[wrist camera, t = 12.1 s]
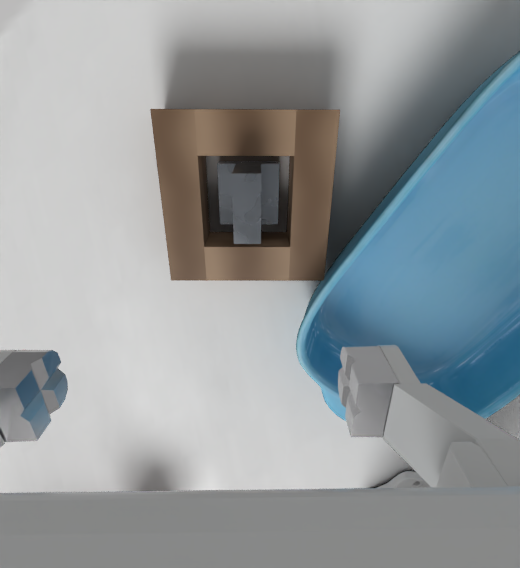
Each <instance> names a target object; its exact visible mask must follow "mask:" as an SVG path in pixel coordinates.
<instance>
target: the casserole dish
mask: <svg viewBox="0 0 520 568" xmlns="http://www.w3.org/2000/svg"><path fill="white" fill-rule="evenodd" d="M378 345H396V346H398V347H399V349H400V350H401V352H402V354H403V355H404V357H405V359H406V360H407V362H408V363H409V365H410V367H411V368H412V370H413V371H414V373H415V375H416V376H417V378H418V380H419V381H420V383H426V384H428V385H430V386H431V387H433V388H435V389H436V390H438V391H440V392H441V393H443V394H445V395H446V396H448V397H450V398H451V399H453V400H454V401H456V402H458V403H459V404H461V405H463V406H464V407H466V408H468V409H469V410H471V411H473V412H474V413H476V414H478V415H479V416H481V417H483V418H484V419H486V418H487V417H489V416H491V415H492V414H494V413H495V412H497V411H498V410H500V409H501V408H503V407H504V406H505V405H507V404H508V403H510V402H511V401H512V400H514V399H515V398H516V397H518V396H519V395H520V51H519V52H518V53H517V54H516V55H514V56H513V57H512V58H511V59H509V60H508V61H507V62H506V63H505V64H503V65H502V66H501V67H500V68H499V69H498V70H496V71H495V72H494V73H493V74H492V75H491V76H490V77H489V78H488V79H487V80H485V81H484V82H483V83H482V84H481V85H480V86H479V87H478V88H477V89H476V90H475V91H474V92H473V93H472V94H471V95H470V97H469V98H468V99H467V100H466V101H465V102H464V103H463V104H462V105H461V106H460V107H459V108H458V109H457V111H456V112H455V113H454V114H453V115H452V116H451V118H450V119H449V120H448V121H447V122H446V123H445V125H444V126H443V127H442V128H441V129H440V130H439V132H438V133H437V134H436V135H435V136H434V138H433V139H432V140H431V141H430V142H429V144H428V145H427V146H426V147H425V149H424V150H423V151H422V152H421V153H420V155H419V156H418V157H417V158H416V160H415V161H414V162H413V163H412V164H411V166H410V167H409V168H408V169H407V171H406V172H405V173H404V174H403V176H402V177H401V178H400V179H399V181H398V182H397V183H396V184H395V186H394V187H393V188H392V189H391V191H390V192H389V193H388V194H387V196H386V197H385V198H384V199H383V201H382V202H381V203H380V204H379V206H378V207H377V208H376V209H375V211H374V212H373V213H372V214H371V216H370V217H369V218H368V219H367V221H366V222H365V223H364V224H363V226H362V227H361V228H360V229H359V231H358V232H357V233H356V234H355V236H354V237H353V238H352V239H351V241H350V242H349V243H348V244H347V246H346V247H345V248H344V249H343V251H342V252H341V253H340V255H339V256H338V257H337V259H336V260H335V261H334V263H333V264H332V266H331V267H330V268H329V270H328V271H327V273H326V274H325V276H324V280H323V281H321V282H320V283H319V285H318V286H317V288H316V290H315V292H314V294H313V295H312V297H311V300H310V302H309V305H308V307H307V310H306V313H305V316H304V319H303V321H302V323H301V326H300V328H299V332H298V336H297V343H296V350H297V356H298V359H299V362H300V364H301V366H302V367H303V369H304V370H305V371H306V372H307V374H308V375H309V376H310V377H311V378H312V379H313V380H314V381H315V382H316V383H317V384H318V385H319V386H320V387H321V390H322V393H323V397H324V399H325V402H326V403H327V405H328V406H329V408H330V409H331V410H332V411H333V412H334V413H335V414H336V415H337V416H339V417H340V418H342V419H343V420H345V421H346V418H345V413H346V407H344V406H343V405H342V404H341V401H340V397H339V391H338V373H339V370H340V369H341V368H342V367H343V366H342V363H341V360H340V355H341V349H342V347H356V346H378Z"/></svg>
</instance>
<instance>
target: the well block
mask: <svg viewBox="0 0 520 568" xmlns="http://www.w3.org/2000/svg"><path fill="white" fill-rule="evenodd" d="M150 110H151V118H152V126H153V134H154V143H155V151H156V159H157V167H158V175H159V184H160V192H161V200H162V208H163V217H164V225H165V233H166V241H167V249H168V258H169V266H170V274H171V280H318V281H323V280H324V275H325V264H326V254H327V243H328V233H329V222H330V211H331V201H332V190H333V180H334V169H335V158H336V148H337V137H338V127H339V116H340V110H262V109H150ZM206 156H290V160H289V186H288V211H287V232H261V244H234V235H233V232H210V219H209V203H208V187H207V171H206Z"/></svg>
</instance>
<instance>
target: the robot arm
mask: <svg viewBox="0 0 520 568" xmlns="http://www.w3.org/2000/svg"><path fill="white" fill-rule="evenodd" d="M340 360H341V363H342V366H343V367H342V368H341V369H340V370H339V373H338V391H339V397H340V401H341V404H342V405H343V406H344V407H346V413H345V418H346V422H347V425H348V428H349V432H350V435H351V437H383V439H384V440H385V441H386V442H387V443H388V444H389V445H390V446H391V447H392V448H393V449H394V450H395V451H396V452H397V453H398V454H399V455H400V456H401V457H402V458H403V459H404V460H405V461H406V462H407V463H408V464H409V465H410V466H411V467H412V468H413V469H414V470H415V471H416V472H413V471H405V472H402V473H400V474H399V475H397V476H396V477H394V478H393V479H392V480H391V481H389V482H388V483H386V484H384V485H382V486H379V487H377V488H354V489H276V490H193V491H117V492H41V493H0V568H520V440H519V439H517V438H516V437H514V436H512V435H511V434H509V433H507V432H506V431H504V430H502V429H501V428H499V427H497V426H496V425H494V424H492V423H491V422H489V421H488V420H486V419H484V418H483V417H481V416H479V415H478V414H476V413H474V412H473V411H471V410H469V409H468V408H466V407H464V406H463V405H461V404H459V403H458V402H456V401H454V400H453V399H451V398H450V397H448V396H446V395H445V394H443V393H441V392H440V391H438V390H436V389H435V388H433V387H431V386H430V385H428V384H426V383H420V381H419V380H418V378H417V376H416V375H415V373H414V371H413V370H412V368H411V367H410V365H409V363H408V362H407V360H406V359H405V357H404V355H403V354H402V352H401V350H400V349H399V347H398V346H396V345H378V346H356V347H342V349H341V355H340ZM60 363H61V361H60V358H59V356H58V353H57V352H55V351H53V350H0V447H1V446H2V445H4V444H5V442H16V441H37V440H38V439H39V438H40V436H41V435H42V433H43V432H44V430H45V429H46V427H47V426H48V424H49V423H50V421H51V418H50V414H51V413H52V412H54V411H55V410H57V409H59V408H60V406H61V405H62V403H63V402H64V400H65V397H66V394H67V390H68V386H67V379H66V376H65V374H64V373H63V372H62V371H60V370H59V369H58V367H59V365H60Z"/></svg>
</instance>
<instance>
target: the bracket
mask: <svg viewBox="0 0 520 568" xmlns="http://www.w3.org/2000/svg"><path fill="white" fill-rule="evenodd" d="M217 170H218V191H219V212H220V224H233V235H234V244H261V224H278V200H279V162H267V161H219V162H218V163H217Z"/></svg>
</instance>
